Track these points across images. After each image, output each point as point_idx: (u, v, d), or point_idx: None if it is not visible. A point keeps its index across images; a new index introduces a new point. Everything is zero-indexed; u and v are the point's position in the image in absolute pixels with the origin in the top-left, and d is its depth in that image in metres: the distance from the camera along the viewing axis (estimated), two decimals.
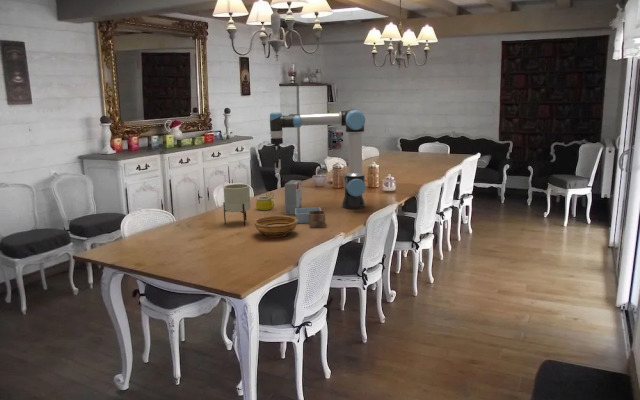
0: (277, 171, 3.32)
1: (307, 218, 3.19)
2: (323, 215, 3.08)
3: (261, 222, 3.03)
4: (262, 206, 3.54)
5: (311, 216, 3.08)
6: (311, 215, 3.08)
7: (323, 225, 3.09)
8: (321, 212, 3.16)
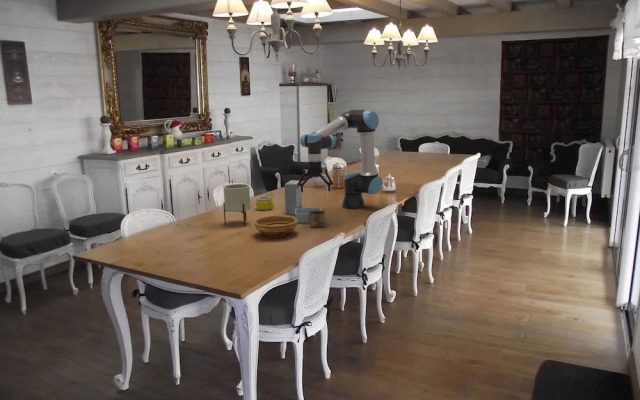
0: (303, 196, 3.10)
1: (307, 218, 3.19)
2: (323, 215, 3.08)
3: (261, 222, 3.03)
4: (262, 206, 3.54)
5: (311, 216, 3.08)
6: (311, 215, 3.08)
7: (323, 225, 3.09)
8: (321, 212, 3.16)
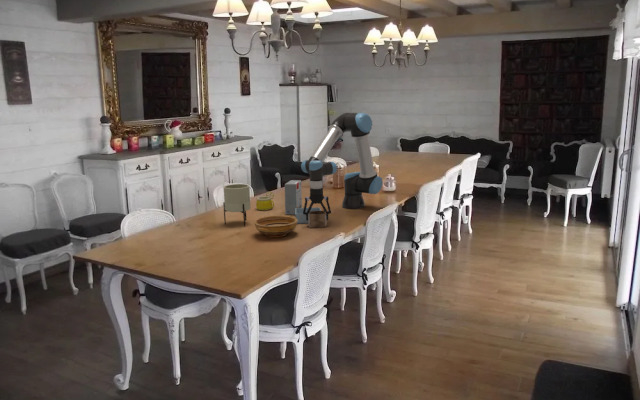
0: (308, 224, 3.13)
1: None
2: (323, 215, 3.08)
3: (261, 222, 3.03)
4: (262, 206, 3.54)
5: (311, 216, 3.08)
6: (311, 215, 3.08)
7: (323, 225, 3.09)
8: (321, 212, 3.16)
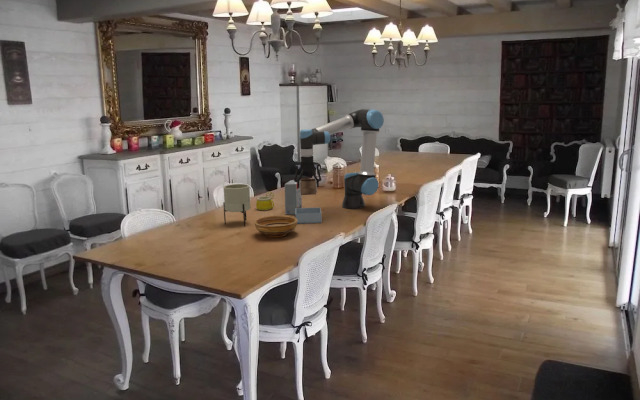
0: None
1: (307, 218, 3.19)
2: (314, 182, 3.17)
3: (261, 222, 3.03)
4: (262, 206, 3.54)
5: (302, 183, 3.17)
6: (302, 182, 3.17)
7: (314, 192, 3.19)
8: (312, 180, 3.26)
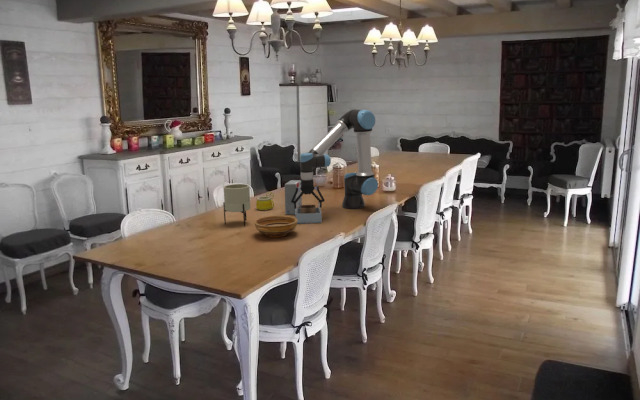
0: (296, 212, 3.26)
1: (307, 218, 3.19)
2: (314, 209, 3.21)
3: (261, 222, 3.03)
4: (262, 206, 3.54)
5: (302, 210, 3.21)
6: (302, 209, 3.21)
7: None
8: (312, 206, 3.30)
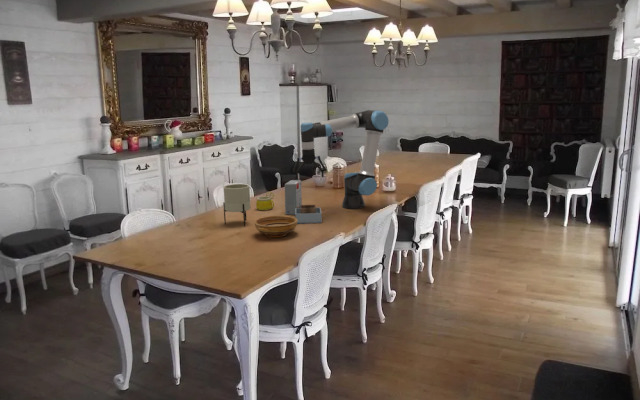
0: (298, 182, 3.26)
1: (307, 218, 3.19)
2: (314, 209, 3.21)
3: (261, 222, 3.03)
4: (262, 206, 3.54)
5: (302, 210, 3.21)
6: (302, 209, 3.21)
7: None
8: (312, 206, 3.30)
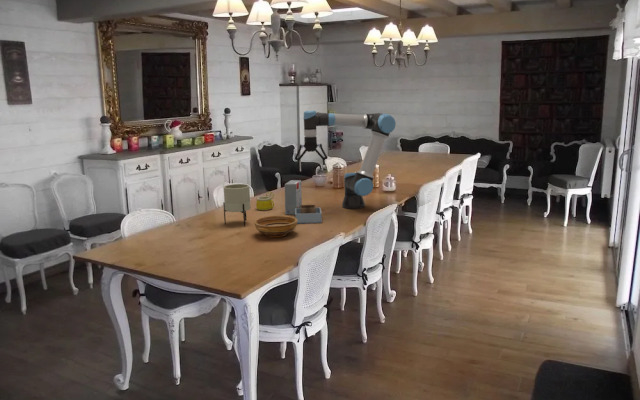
0: None
1: (307, 218, 3.19)
2: (314, 209, 3.21)
3: (261, 222, 3.03)
4: (262, 206, 3.54)
5: (302, 210, 3.21)
6: (302, 209, 3.21)
7: None
8: (312, 206, 3.30)
